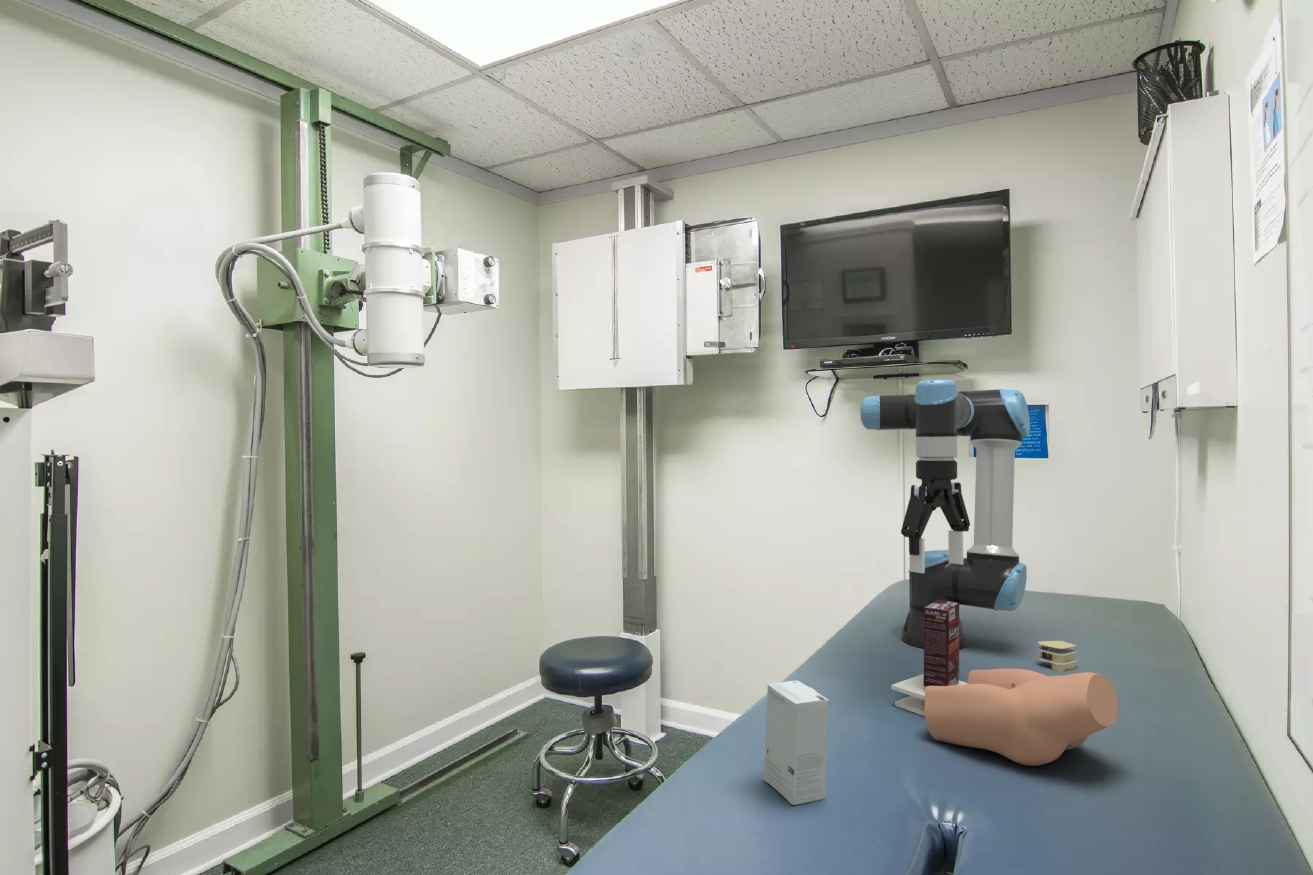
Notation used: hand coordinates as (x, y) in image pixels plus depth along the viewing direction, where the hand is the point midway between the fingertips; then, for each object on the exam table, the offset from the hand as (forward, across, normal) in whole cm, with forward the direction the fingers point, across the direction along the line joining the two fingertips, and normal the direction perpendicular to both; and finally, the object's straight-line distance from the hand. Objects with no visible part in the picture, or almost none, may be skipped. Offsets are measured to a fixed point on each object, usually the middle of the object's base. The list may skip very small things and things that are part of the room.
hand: (937, 567), depth 135 cm
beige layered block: (+28, -42, +4) cm, 51 cm away
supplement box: (+23, +1, +2) cm, 23 cm away
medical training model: (+27, +7, +20) cm, 34 cm away
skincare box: (+26, +48, +6) cm, 55 cm away
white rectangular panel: (+27, +2, +2) cm, 27 cm away
